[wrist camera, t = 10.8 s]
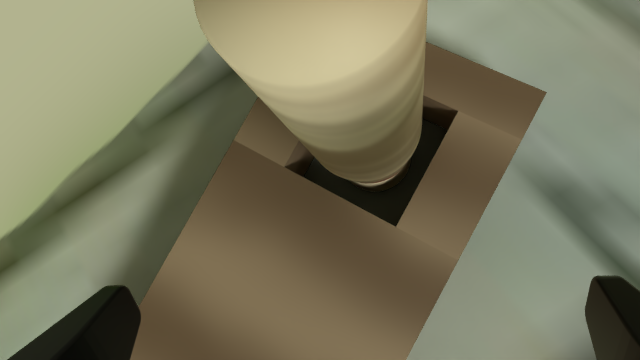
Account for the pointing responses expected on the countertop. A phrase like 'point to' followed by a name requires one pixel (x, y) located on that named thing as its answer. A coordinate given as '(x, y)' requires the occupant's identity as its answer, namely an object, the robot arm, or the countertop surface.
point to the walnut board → (331, 237)
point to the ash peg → (332, 75)
